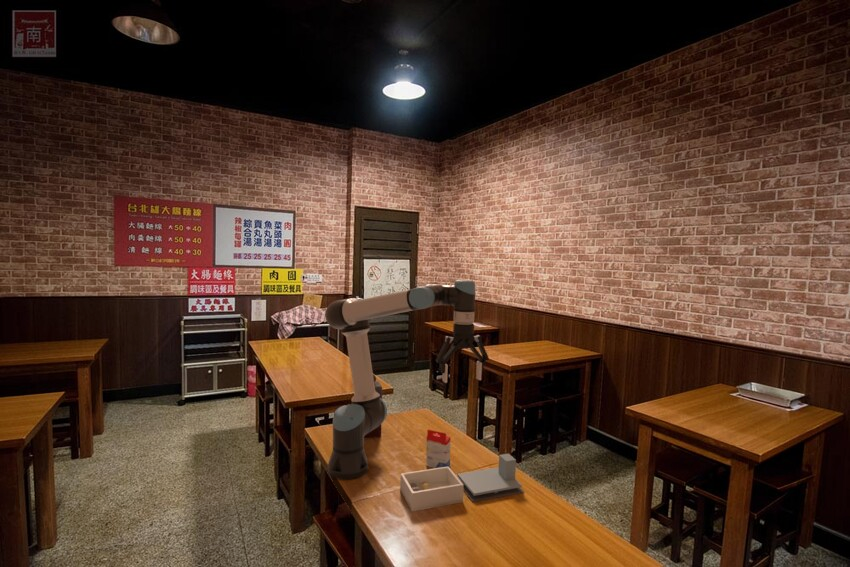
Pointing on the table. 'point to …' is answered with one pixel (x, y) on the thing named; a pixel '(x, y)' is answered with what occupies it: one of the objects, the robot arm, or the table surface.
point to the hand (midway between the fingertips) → (461, 380)
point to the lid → (492, 477)
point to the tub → (431, 488)
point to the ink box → (437, 449)
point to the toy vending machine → (377, 431)
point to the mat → (490, 494)
